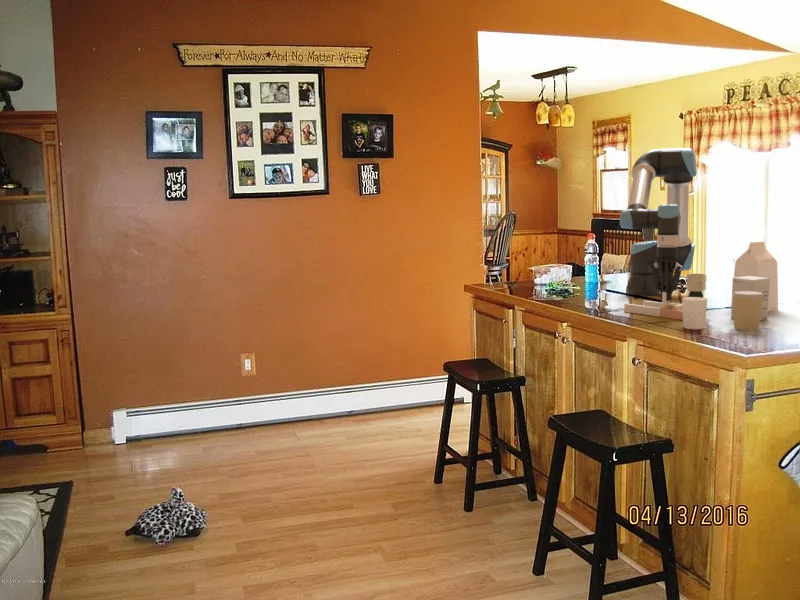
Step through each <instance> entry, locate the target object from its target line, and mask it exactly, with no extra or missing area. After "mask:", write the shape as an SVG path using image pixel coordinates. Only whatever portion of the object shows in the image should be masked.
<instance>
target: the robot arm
mask: <svg viewBox="0 0 800 600" xmlns="http://www.w3.org/2000/svg"><path fill="white" fill-rule="evenodd" d="M695 154H696V153H695V151H694V149H693V148H690V147H685V148H683V147H677V148H676V147H675V148H674V147H672V148H656V149H654V148H653V149H651V150H648V151H647V152H645V153H643V154H642V155H641V156H640V157H639V158H638V159H636V161H635V163H634V164H633V166H632V169H631V177H632V183H631V188H630V193H629V199H628V204H627V207H626V208H625V209H621V211H620V214H619V226H620V227H621V229H628V230H635V229H636V230H638V229H639V230H640V229H641V230H645V229H649V230H651V229H653V230H655V229H656V230H657V233H656V234H657V235H656V237H657V238H656V240H649V241H642V242H641V241H639V242H636V243H633V244H632V245H631V247H630V269H629V271H630V272H629V273H630V277H629V279H628V282H627V285H626V288H625V293H626V294H627V295H633V296H656V295H655V294H659V293H661V294H659V295H660V300H661V303H662V304H665V303H671V301H672V299H673V298H672V297H673V293H672V292H675V291H678V287H679V283H680V278H681V274H682V272H683V271H685V272H687V271H690V270H691V269H692V267H693V262H694V256H695V255H694V254H695V249H696V244H694V243H692V242H693V241H692V239H691V238H690V237H689V199H690V198H689V196H690V194H689V193H690V192H689V191H690V184H691V183H692V181H693V180H694V177H696V176H697V174H698V173H697V172H698V171H697V160H696V155H695ZM655 178H663V182H664V183H665V184H666V185H667V186H666V194H667V195H666V197H667V198H666V200H667V201H666V204H660V205H658V207H657V209H656V208H648V207H649V202H650V196H651V188H652V182H653V180H655Z"/></svg>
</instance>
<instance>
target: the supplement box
mask: <svg viewBox="0 0 800 600" xmlns="http://www.w3.org/2000/svg"><path fill="white" fill-rule="evenodd" d="M769 282H770V278H763V277H754V276H743V277H734V276H733V277H732V285H731V287H732V288H731V289H732V290H731V303H732V305H731V306H730V319H733V320H734V308H733V294H734V292H736V291H755V292H761V293H763V301H762V310H761V318H760V321H764V320H768V318H769V317H768V314H769V311H768V299H769Z"/></svg>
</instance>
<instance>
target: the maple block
mask: <svg viewBox="0 0 800 600" xmlns="http://www.w3.org/2000/svg"><path fill="white" fill-rule="evenodd" d="M660 308H665V309H672V310H680V311H682V302H681V303H680V302H679V303H678V302H674V301H673V302H671V301H670V303H665V304H660Z"/></svg>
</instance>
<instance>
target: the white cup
mask: <svg viewBox="0 0 800 600" xmlns="http://www.w3.org/2000/svg"><path fill="white" fill-rule="evenodd" d="M707 303H708V298H706V297H703V298H701V297H689V296H687V297H682V298H681V304H682V313H683V320H682V325H683V328H684V329H688V330H703V329H705V325H706V323H705V322H706V318H707V317H706V316H707V306H708V305H707Z"/></svg>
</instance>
